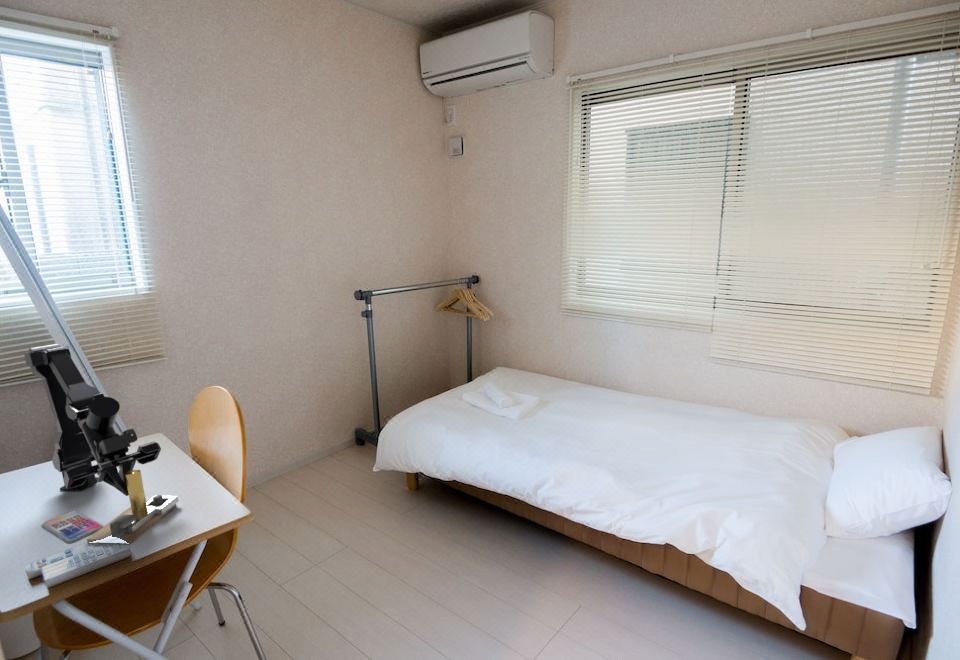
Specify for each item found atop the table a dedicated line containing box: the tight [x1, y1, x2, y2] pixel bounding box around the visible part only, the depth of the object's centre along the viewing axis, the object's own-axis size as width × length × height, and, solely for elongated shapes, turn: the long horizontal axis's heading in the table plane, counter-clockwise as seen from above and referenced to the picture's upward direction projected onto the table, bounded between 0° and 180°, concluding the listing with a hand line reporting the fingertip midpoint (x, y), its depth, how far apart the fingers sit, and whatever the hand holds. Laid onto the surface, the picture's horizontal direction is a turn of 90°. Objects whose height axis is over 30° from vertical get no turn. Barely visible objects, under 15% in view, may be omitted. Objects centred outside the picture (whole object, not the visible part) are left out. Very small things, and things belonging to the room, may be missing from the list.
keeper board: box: [86, 494, 177, 545], centre depth 124 cm, size 10×16×4 cm, turn 175°
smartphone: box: [41, 510, 105, 544], centre depth 123 cm, size 7×1×15 cm
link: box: [123, 469, 179, 533], centre depth 123 cm, size 14×6×12 cm, turn 175°
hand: (128, 494), depth 121 cm, fingers closed
